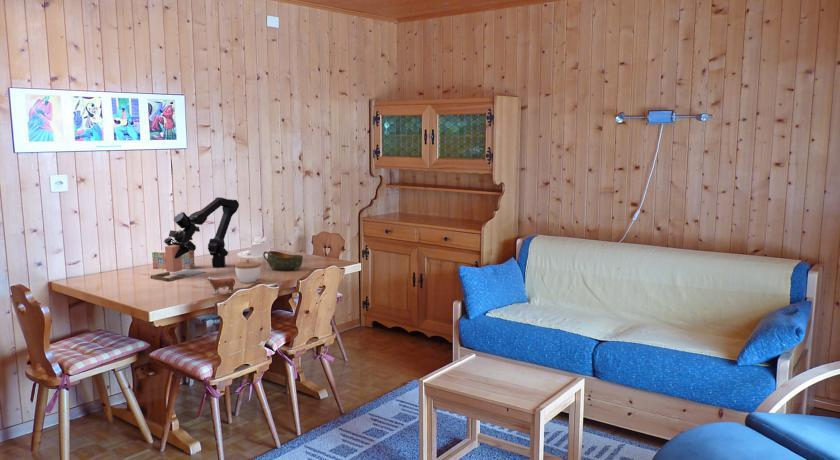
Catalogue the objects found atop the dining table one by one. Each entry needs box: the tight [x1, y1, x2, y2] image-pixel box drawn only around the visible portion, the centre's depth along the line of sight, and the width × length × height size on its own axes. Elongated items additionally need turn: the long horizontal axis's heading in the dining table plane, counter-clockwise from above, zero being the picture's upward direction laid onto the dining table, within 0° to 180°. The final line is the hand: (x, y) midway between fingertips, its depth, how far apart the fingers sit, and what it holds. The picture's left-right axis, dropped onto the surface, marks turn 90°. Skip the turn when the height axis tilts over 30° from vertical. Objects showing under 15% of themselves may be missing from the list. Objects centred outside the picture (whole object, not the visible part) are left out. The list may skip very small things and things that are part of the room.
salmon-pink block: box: [164, 245, 183, 273], centre depth 345 cm, size 6×6×13 cm
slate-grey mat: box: [171, 268, 206, 277], centre depth 355 cm, size 12×12×1 cm
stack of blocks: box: [151, 249, 196, 270], centre depth 368 cm, size 21×6×12 cm, turn 85°
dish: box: [237, 235, 280, 259], centre depth 409 cm, size 25×25×11 cm
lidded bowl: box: [234, 259, 262, 284], centre depth 336 cm, size 13×13×11 cm
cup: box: [263, 250, 304, 272], centre depth 364 cm, size 13×20×10 cm, turn 56°
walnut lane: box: [150, 271, 186, 282], centre depth 343 cm, size 11×13×2 cm
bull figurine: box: [205, 276, 236, 296], centre depth 310 cm, size 4×13×8 cm, turn 95°
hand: (171, 257), depth 344 cm, fingers closed on salmon-pink block, 5 cm apart
